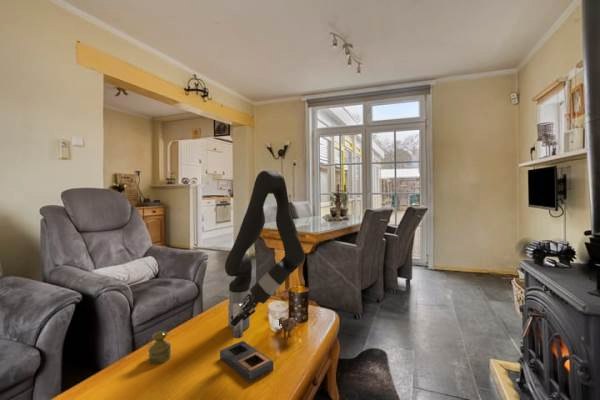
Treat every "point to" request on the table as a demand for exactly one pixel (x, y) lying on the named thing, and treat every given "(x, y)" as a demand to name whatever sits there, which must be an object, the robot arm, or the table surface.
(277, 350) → the table surface
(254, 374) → the block with square holes
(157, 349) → the bronze chess pawn
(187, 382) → the table surface
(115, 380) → the table surface
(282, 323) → the lion figurine
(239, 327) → the steel peg
